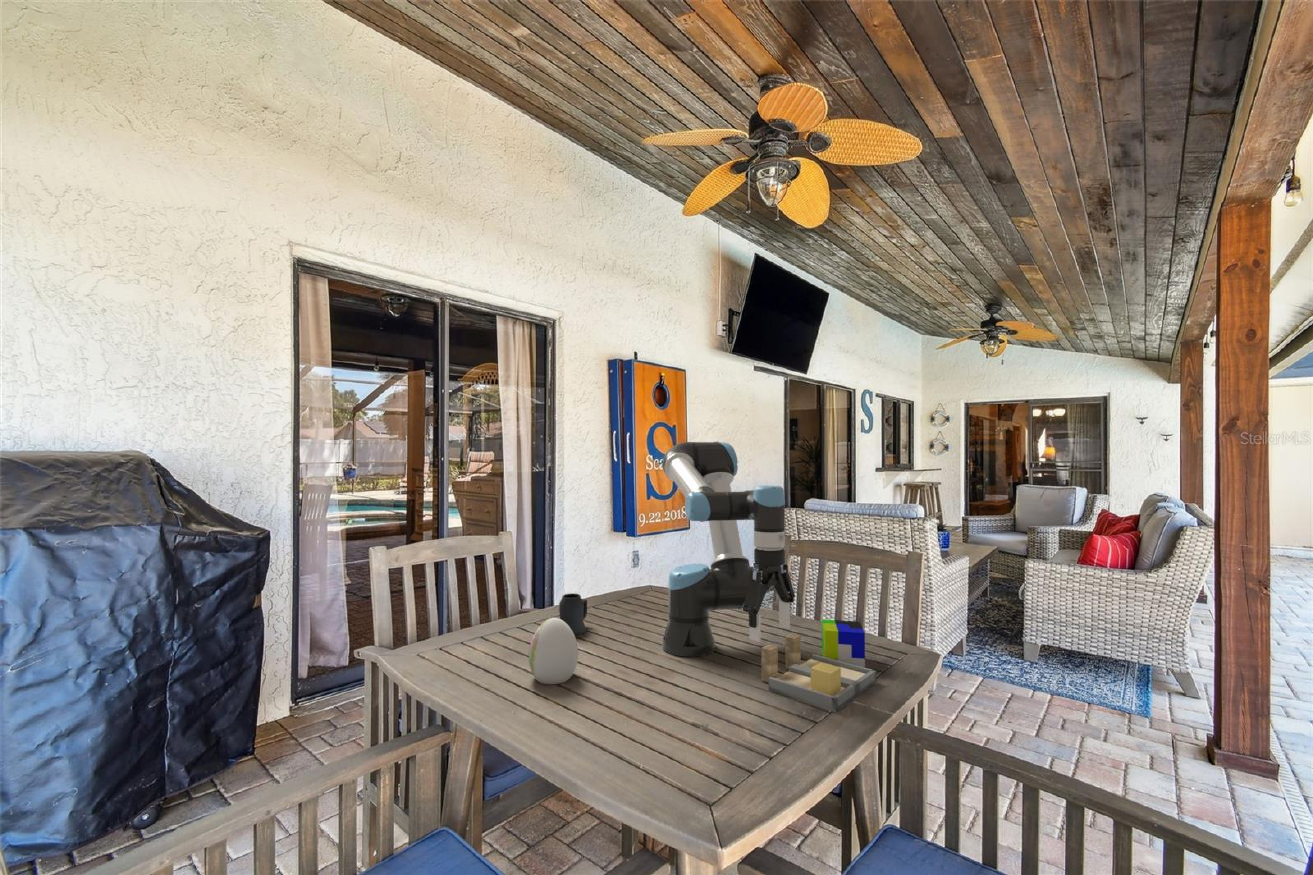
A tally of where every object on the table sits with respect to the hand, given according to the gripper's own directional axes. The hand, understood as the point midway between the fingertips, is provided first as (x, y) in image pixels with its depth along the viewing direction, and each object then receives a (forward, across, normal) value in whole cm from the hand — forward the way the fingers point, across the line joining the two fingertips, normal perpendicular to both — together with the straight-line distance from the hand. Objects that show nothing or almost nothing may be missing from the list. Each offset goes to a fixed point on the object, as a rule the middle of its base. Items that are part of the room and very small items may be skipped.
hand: (770, 634), depth 146 cm
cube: (+10, 0, -15) cm, 18 cm away
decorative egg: (+12, -35, +42) cm, 55 cm away
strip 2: (+12, 0, -8) cm, 14 cm away
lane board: (+12, +6, -11) cm, 17 cm away
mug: (+11, -7, +68) cm, 69 cm away
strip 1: (+11, +12, -3) cm, 17 cm away
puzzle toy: (+12, +24, -8) cm, 28 cm away
